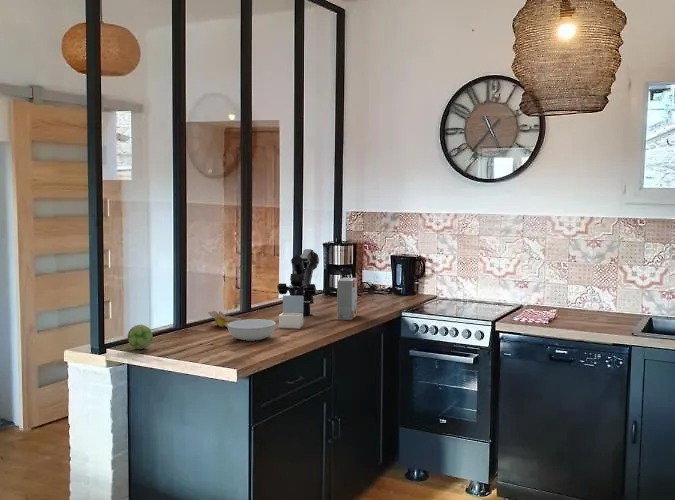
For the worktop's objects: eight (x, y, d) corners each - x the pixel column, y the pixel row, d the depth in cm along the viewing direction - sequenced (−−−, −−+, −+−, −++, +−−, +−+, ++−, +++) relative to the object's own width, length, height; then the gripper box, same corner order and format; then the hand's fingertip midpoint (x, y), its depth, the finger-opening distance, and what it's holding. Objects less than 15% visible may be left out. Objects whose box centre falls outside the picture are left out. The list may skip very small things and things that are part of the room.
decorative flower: (247, 322, 327) (242, 302, 325) (230, 331, 319) (225, 311, 316) (226, 321, 336) (221, 302, 334) (209, 330, 328) (204, 310, 326)
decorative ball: (122, 349, 277) (122, 325, 276) (142, 345, 285) (141, 321, 284) (139, 352, 271) (138, 328, 270) (158, 348, 279) (157, 324, 279)
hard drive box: (351, 320, 341) (351, 281, 340) (336, 320, 343) (336, 280, 341) (357, 315, 357) (357, 277, 355) (342, 314, 358) (342, 277, 357)
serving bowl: (223, 336, 304) (223, 320, 304) (269, 332, 312) (268, 317, 311) (233, 345, 285) (232, 329, 284) (281, 341, 292) (281, 325, 292)
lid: (282, 312, 330) (283, 312, 331) (303, 312, 328) (303, 312, 329) (282, 295, 330) (283, 295, 331) (303, 295, 328) (303, 295, 329)
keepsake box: (282, 324, 330) (282, 312, 330) (303, 325, 329) (303, 313, 328) (279, 327, 322) (278, 315, 322) (299, 328, 321) (299, 315, 321)
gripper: (278, 267, 338) (272, 292, 328) (315, 267, 335) (311, 293, 325) (281, 281, 346) (276, 306, 336) (318, 281, 343) (314, 306, 333)
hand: (294, 302), depth 332 cm, fingers closed
